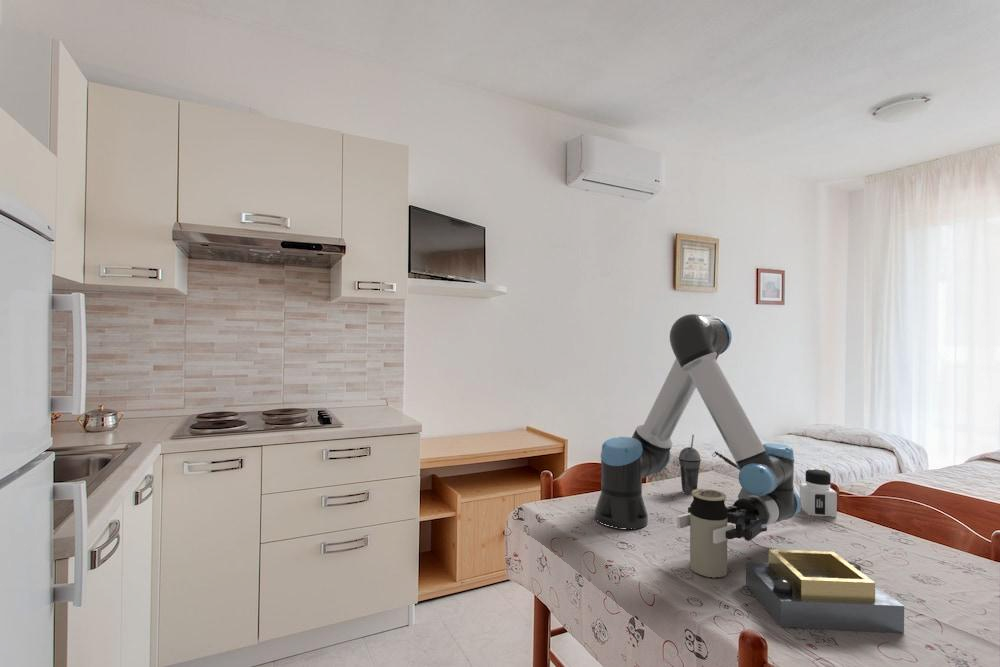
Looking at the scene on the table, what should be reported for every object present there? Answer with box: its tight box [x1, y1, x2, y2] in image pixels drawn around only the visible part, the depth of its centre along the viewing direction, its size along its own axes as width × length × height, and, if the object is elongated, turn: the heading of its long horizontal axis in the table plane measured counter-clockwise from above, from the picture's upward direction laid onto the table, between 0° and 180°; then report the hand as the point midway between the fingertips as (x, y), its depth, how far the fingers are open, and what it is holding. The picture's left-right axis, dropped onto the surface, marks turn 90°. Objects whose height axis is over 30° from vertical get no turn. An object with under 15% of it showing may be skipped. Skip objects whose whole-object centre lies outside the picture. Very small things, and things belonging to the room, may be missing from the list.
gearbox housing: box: [745, 548, 905, 633], centre depth 102 cm, size 22×16×8 cm
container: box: [799, 468, 838, 518], centre depth 156 cm, size 8×8×13 cm
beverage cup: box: [678, 434, 702, 495], centre depth 174 cm, size 7×7×20 cm
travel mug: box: [689, 488, 728, 579], centre depth 117 cm, size 8×8×18 cm
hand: (695, 529), depth 115 cm, fingers open, 9 cm apart
